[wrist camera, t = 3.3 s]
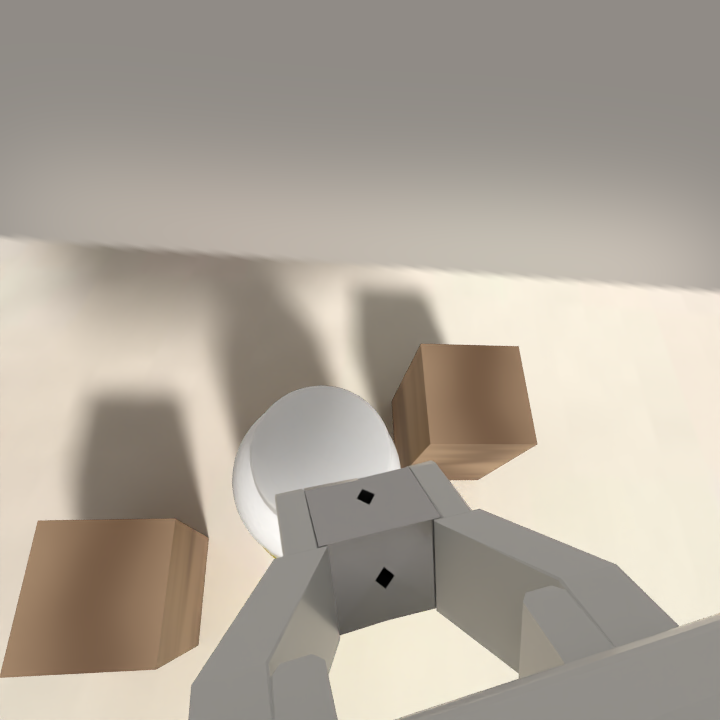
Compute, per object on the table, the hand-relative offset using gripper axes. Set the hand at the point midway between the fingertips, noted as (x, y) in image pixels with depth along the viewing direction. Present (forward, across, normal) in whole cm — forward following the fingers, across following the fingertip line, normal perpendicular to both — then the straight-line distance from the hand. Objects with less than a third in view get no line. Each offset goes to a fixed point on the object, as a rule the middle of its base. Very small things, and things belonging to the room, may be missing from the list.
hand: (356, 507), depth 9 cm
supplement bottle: (+16, 0, +12) cm, 19 cm away
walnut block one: (+14, +8, +13) cm, 21 cm away
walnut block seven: (+17, -8, +10) cm, 22 cm away
